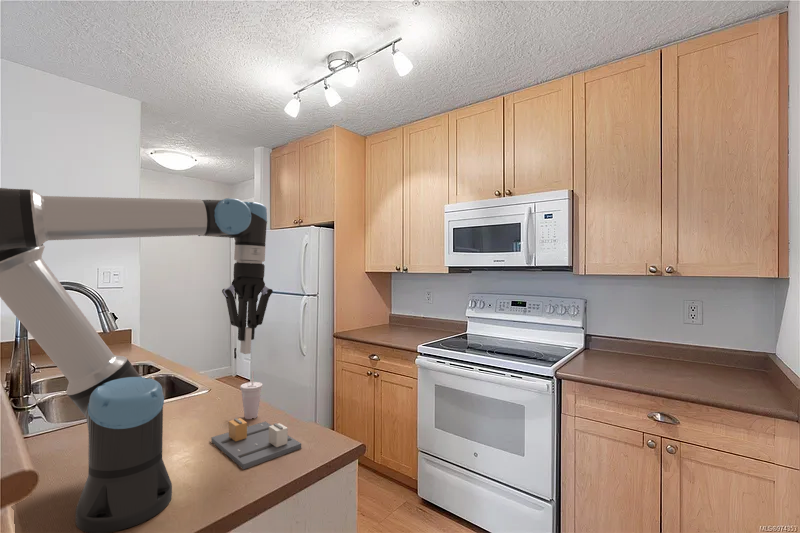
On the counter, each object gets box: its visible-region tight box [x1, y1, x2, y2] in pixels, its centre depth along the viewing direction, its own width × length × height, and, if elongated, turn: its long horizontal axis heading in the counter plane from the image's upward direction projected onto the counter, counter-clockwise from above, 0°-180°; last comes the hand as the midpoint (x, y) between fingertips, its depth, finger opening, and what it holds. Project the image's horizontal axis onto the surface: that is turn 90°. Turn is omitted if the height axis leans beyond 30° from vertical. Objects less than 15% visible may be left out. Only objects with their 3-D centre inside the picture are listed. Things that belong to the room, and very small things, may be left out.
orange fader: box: [228, 417, 248, 441], centre depth 104 cm, size 3×4×4 cm
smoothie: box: [239, 370, 264, 420], centre depth 121 cm, size 6×6×14 cm
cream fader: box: [269, 422, 289, 447], centre depth 101 cm, size 3×4×4 cm
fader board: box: [210, 421, 302, 470], centre depth 102 cm, size 15×19×1 cm
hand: (245, 352), depth 104 cm, fingers closed
